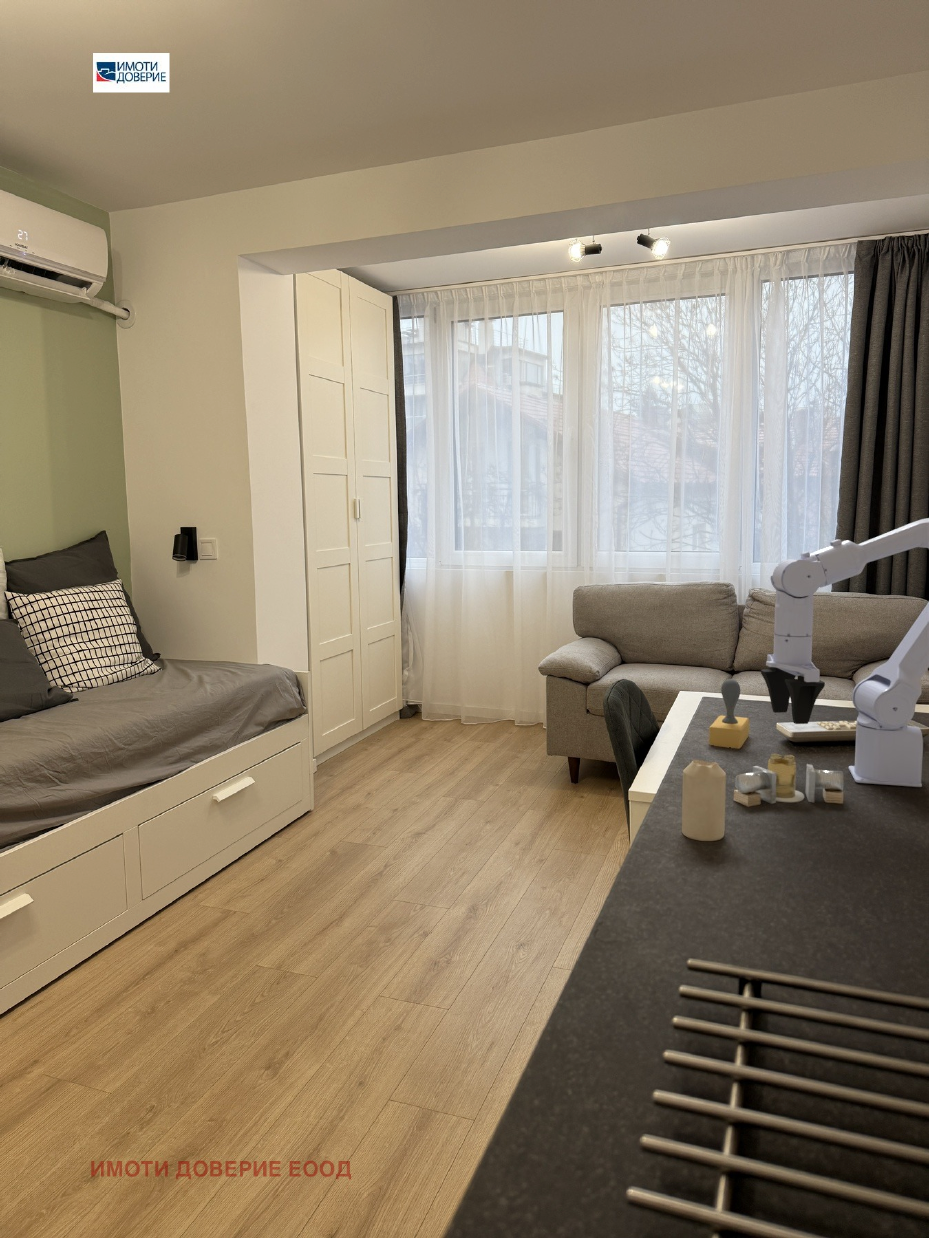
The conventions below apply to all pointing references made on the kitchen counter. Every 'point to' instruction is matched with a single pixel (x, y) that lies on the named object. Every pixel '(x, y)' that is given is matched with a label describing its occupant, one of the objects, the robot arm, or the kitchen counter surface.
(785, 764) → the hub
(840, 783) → the shaft
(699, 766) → the candle
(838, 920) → the kitchen counter surface
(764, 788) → the shaft
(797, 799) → the seat
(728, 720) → the rubber stamp
